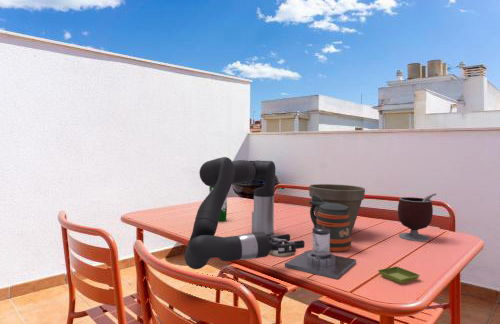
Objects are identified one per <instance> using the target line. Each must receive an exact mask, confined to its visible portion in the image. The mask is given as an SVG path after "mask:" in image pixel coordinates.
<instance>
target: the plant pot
mask: <svg viewBox="0 0 500 324" xmlns="http://www.w3.org/2000/svg"><path fill="white" fill-rule="evenodd" d="M308 190H309V191H308V194H309V197H311V199H312V198H313V195H314V194H316V195H318V196H320V197H321V198H322V199H323V202H328V203H337V204H342V205H345V206H347V207H349V210H348V213H349V221H350V225H349V228H350V236H351V234H352V233H353V230H354V227H355V224H356V220H357V217H358V214H359V211H360V208H361V205H362V202H363V200H365V194H366V193H365V192H366V188H365V187H362V186H357V185H349V184H334V183H332V184H331V183H330V184H329V183H323V184H321V183H319V184H316V183H315V184H310V185H309V187H308ZM318 210H319V207H318V206H316V207H315V209H314V214H315V216H316V217H317V213H318Z"/></svg>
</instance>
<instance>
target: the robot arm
mask: <svg viewBox="0 0 500 324" xmlns="http://www.w3.org/2000/svg"><path fill="white" fill-rule="evenodd" d="M198 172H199V177H200V178H199V179H200V180H201V182H202V183H203V184H204V185H206V186H208V187H214V188H213V189H212V191H211V192H210V193H209V192H208V195H207V196H206V197H205V198H204V199H203V201H202V202H201V204H200V205H199V207H198V209H197V212H196V215H195V220H194V223H193V226H192V232H191V235H190V238H189V240H188V244H187V246H186V249H185V252H184V261H185V264H186V265H187V266H188V268H190V269H193V270H200V269H202V268H204V267H205V266H206V265H207V264H208V262H209V261H210V259H212V258H213V259H215V258H217V259H219V261H222V262H232V261H241V260H243V261H245V260H247V261H248V260H254V259H262V258H266V257H268V256H269V255H270V254H269V252H270V251H271V250H272V251H275V252H277V251H278V254H283V253H292V252H294V253H296V252H297V249H304V248H305V241H304V240H301V239H300V240H293V241H291V235H290V234H289V233H285V234H278V233H277V234H275V233H274V230H275V229H274V225H275V224H274V223H275V221H274V220H275V218H274V216H275V212H274V211H275V209H274V208H275V184H276V164H275V162H274V161H272V160H254V161H249V160H246V159H239V160H232V159H231V158H230V157H228V156H227V157H226V156H221V157H218V158H214V159H211V160H208V161H206V162H204V163H203V164H202V165H201V167H200V169H199V171H198ZM252 180H254V181H262V182H264V185H262V186H261V187H260V186H259V187H258V188H255V189H254V190H253V211H252V212H251V233H243V234H240V235H239V234H238V235H230V236H218V235H216V232H217V231H218V224H219V222H218V221H219V216H220V212H221V209H222V206H223V204H224V201H225V199H226V197H227V198H228V194H229V192H230V190H231V187H232V185H233V184H246V183H248V182H251V181H252ZM283 242H284V244H283ZM290 246H291V248H289V247H290Z"/></svg>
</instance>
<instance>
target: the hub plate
mask: <svg viewBox="0 0 500 324" xmlns="http://www.w3.org/2000/svg"><path fill="white" fill-rule="evenodd" d="M312 255H313V250H309V249H307V250H306V251H305V252H302V253H300V254H298V255H297V256H295V257H293V258H291V259H290V260H288V261H287V262H284V268H288V269H293V270H296V271H301V272H305V273H309V274H314V275H317V276H318V275H319V276H323V277H326V278H330V279H335V280H338V279H339V278H340V277H342V275H344V274H345V273H346V272H347V271H349V270H350V269H351V268H352V267H353V266H355V265H356V263H357V259H355V258H351V257H350V258H349V257H345V256H342V255H341V256H340V255H335V254H333V253H331V252H330V253H329V258H327V259H319V258H315V257H313V256H312Z"/></svg>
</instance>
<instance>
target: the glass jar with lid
mask: <svg viewBox="0 0 500 324" xmlns="http://www.w3.org/2000/svg"><path fill="white" fill-rule="evenodd" d="M312 251H313V255H312V256H313V257H315V258H319V259H327V258H329V253H331V252H330V229H329V228H325V227H315V228H314V227H313V228H312Z"/></svg>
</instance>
